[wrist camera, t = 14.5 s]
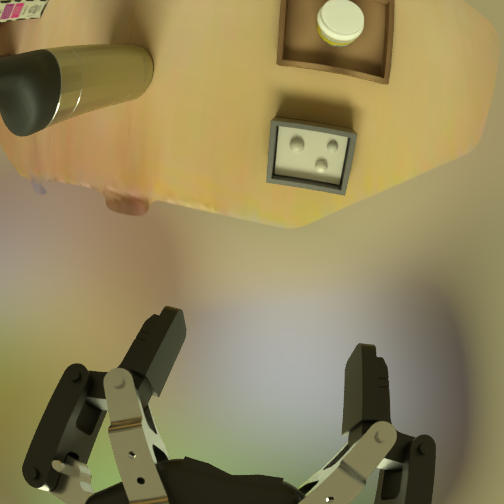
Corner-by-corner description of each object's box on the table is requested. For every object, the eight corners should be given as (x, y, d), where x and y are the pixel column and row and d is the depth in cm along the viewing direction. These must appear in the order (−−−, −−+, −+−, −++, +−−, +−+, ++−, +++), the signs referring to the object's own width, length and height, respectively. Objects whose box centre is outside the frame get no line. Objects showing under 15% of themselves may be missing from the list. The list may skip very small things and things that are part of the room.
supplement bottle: (328, 7, 20) (332, -14, 14) (362, 28, 21) (377, 13, 14) (309, 34, 23) (307, 19, 17) (343, 54, 24) (353, 46, 17)
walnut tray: (279, 65, 27) (276, 64, 25) (284, -14, 20) (282, -21, 18) (383, 84, 25) (388, 84, 23) (389, 4, 18) (394, -1, 16)
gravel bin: (270, 173, 36) (266, 182, 33) (275, 116, 31) (271, 120, 29) (342, 185, 35) (344, 195, 32) (353, 129, 30) (357, 134, 27)
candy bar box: (50, -3, 19) (-16, 3, 6) (40, 18, 22) (-25, 29, 9) (30, -7, 17) (-28, 0, 4) (21, 12, 20) (-36, 23, 7)
